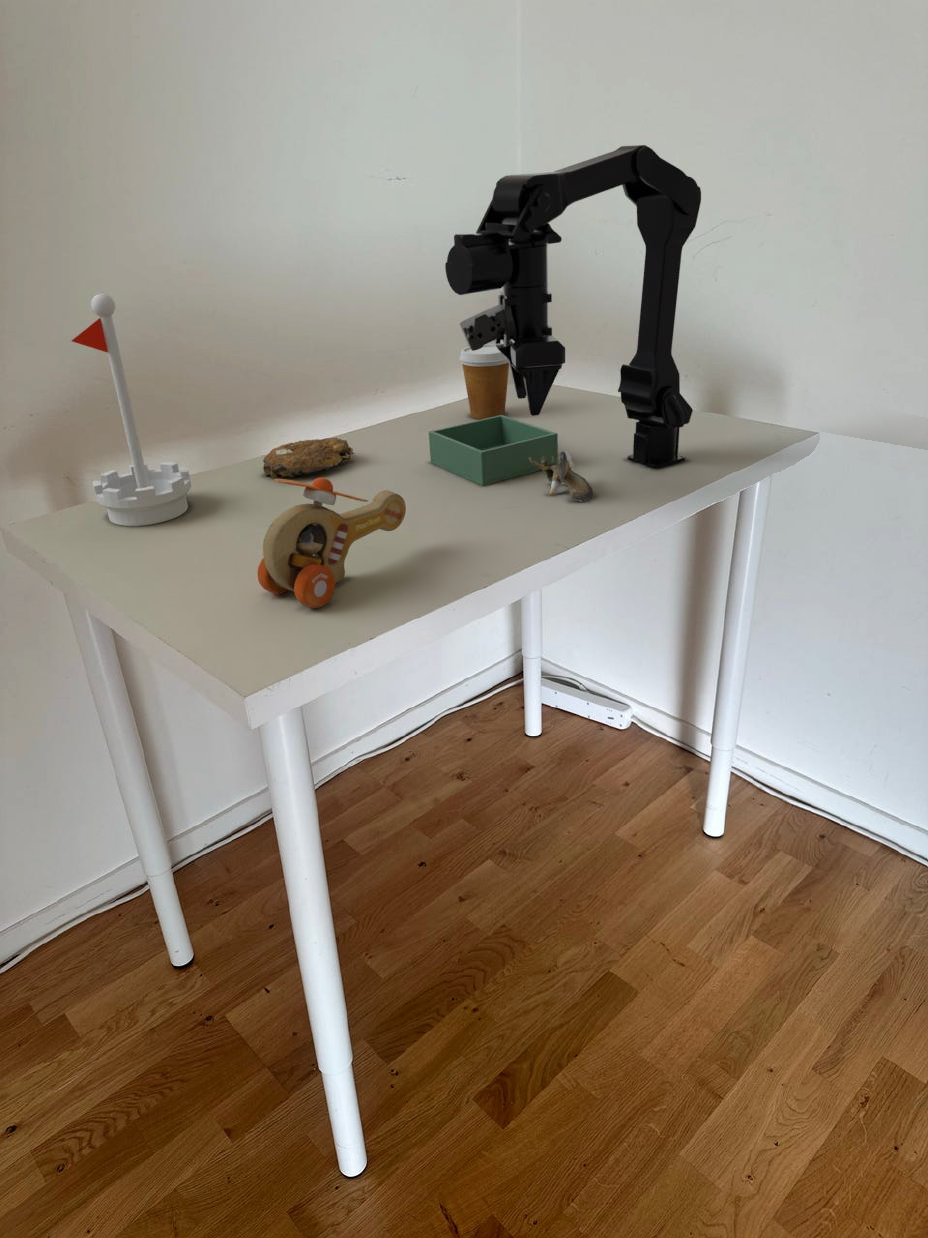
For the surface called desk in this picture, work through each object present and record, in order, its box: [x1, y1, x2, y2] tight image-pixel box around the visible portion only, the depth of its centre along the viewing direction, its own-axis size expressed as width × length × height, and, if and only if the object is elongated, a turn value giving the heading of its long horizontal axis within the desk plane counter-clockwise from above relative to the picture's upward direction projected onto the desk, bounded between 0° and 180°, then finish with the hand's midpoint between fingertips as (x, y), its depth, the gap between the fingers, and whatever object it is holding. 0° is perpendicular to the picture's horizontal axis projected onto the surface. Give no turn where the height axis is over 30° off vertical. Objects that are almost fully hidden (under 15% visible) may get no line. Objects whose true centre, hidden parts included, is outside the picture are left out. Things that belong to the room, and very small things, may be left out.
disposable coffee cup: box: [458, 344, 510, 420], centre depth 167 cm, size 10×10×12 cm
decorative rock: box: [262, 437, 356, 479], centre depth 146 cm, size 11×4×15 cm
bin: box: [428, 415, 559, 486], centre depth 142 cm, size 14×15×5 cm
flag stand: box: [71, 293, 192, 527], centre depth 124 cm, size 13×13×30 cm
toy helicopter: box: [257, 477, 407, 609], centre depth 105 cm, size 8×21×14 cm, turn 140°
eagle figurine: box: [529, 449, 594, 503], centre depth 129 cm, size 8×7×9 cm
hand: (528, 406), depth 123 cm, fingers open, 9 cm apart
